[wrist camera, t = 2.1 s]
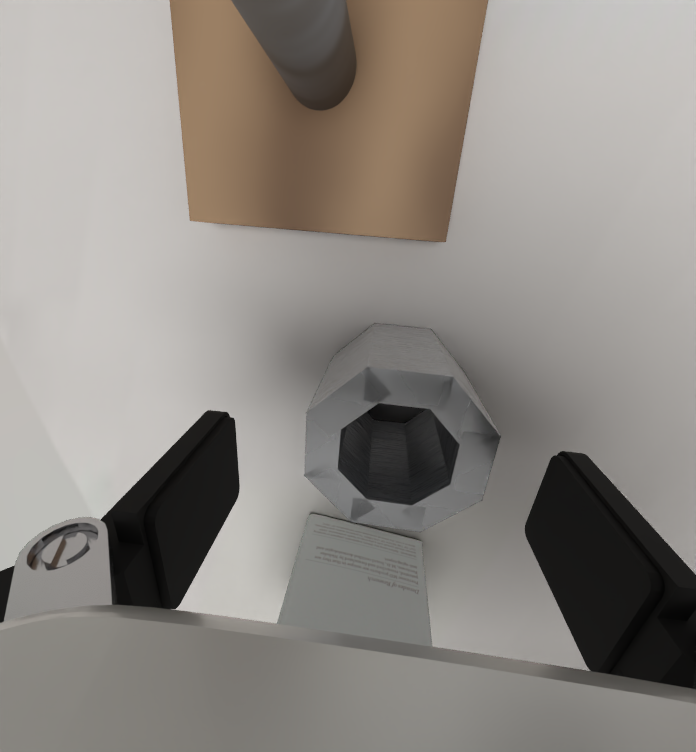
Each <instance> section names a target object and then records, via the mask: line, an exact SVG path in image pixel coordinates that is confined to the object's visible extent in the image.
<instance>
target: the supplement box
mask: <svg viewBox="0 0 696 752" xmlns="http://www.w3.org/2000/svg"><path fill="white" fill-rule="evenodd" d="M277 624H282V625H289V626H296V627H303V628H310V629H317V630H323V631H330V632H337V633H344V634H351V635H357V636H364V637H371V638H377V639H384V640H391V641H397V642H404V643H411V644H417V645H424V646H431V647H432V639H431V629H430V619H429V609H428V599H427V589H426V578H425V569H424V560H423V550H422V542H421V541H419V540H415V539H412V538H408V537H404V536H401V535H397V534H393V533H389V532H385V531H381V530H378V529H373V528H369V527H366V526H362V525H358V524H354V523H350V522H346V521H342V520H338V519H334V518H330V517H326V516H322V515H317V514H310V515H309V517H308V520H307V523H306V526H305V530H304V533H303V536H302V540H301V543H300V546H299V550H298V553H297V557H296V560H295V564H294V567H293V570H292V574H291V577H290V581H289V584H288V588H287V591H286V594H285V598H284V601H283V605H282V608H281V612H280V615H279V618H278V622H277Z"/></svg>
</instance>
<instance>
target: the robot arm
mask: <svg viewBox="0 0 696 752" xmlns="http://www.w3.org/2000/svg"><path fill="white" fill-rule="evenodd" d="M238 494H239V473H238V458H237V443H236V428H235V420H234V418H230V416H229V413H227V412H220V411H211V410H208V411H207V412H205V413H204V414H203V415H202V416H201V417H200V418H199V420H198V421H197V422H196V423H195V424H194V425H193V426H192V427H191V428H190V429H189V430H188V431H187V432H186V433H185V434H184V435H183V436H182V437H181V438H180V439H179V440H178V441H177V442H176V443H175V444H174V445H173V446H172V447H171V448H170V449H169V450H168V451H167V452H166V453H165V454H164V455H163V456H162V457H161V458H160V459H159V460H158V461H157V462H156V463H155V465H154V466H153V467H152V468H151V469H150V470H149V471H148V472H147V473H146V474H145V475H144V476H143V477H142V478H141V479H140V480H139V481H138V482H137V483H136V484H135V485H134V486H133V487H132V488H131V489H130V490H129V491H128V492H127V493H126V494H125V495H124V496H123V497H122V498H121V499H120V500H119V501H118V502H117V503H116V504H115V505H114V506H113V508H112V509H111V510H110V511H109V512H108V513H107V514H106V515H105V516H104V517H103V518H102V519H101V520H100V519H96V518H92V517H82V518H75V519H70V520H66V521H64V522H61V523H59V524H56V525H54V526H52V527H50V528H48V529H47V530H45V531H43V532H41V533H39V534H38V535H37V536H36V537H34V538H33V539H32V540H31V541H29V542H28V543H27V544H26V546H25V547H24V548H23V549H22V550H21V552H20V553H19V556H18V558H17V560H16V563H15V566H12V567H10V568H7V569H5V570H2V571H0V752H696V575H695V574H694V573H693V571H692V570H691V569H690V568H689V567H688V566H687V565H686V564H685V563H684V562H683V560H682V559H681V558H680V557H679V556H678V555H677V554H676V553H675V552H674V551H673V549H672V548H671V547H670V546H669V545H668V544H667V543H666V542H665V541H664V540H663V539H662V537H661V536H660V535H659V534H658V533H657V532H656V531H655V530H654V529H653V528H652V526H651V525H650V524H649V523H648V522H647V521H646V520H645V519H644V518H643V517H642V515H641V514H640V513H639V512H638V511H637V510H636V509H635V508H634V507H633V506H632V504H631V503H630V502H629V501H628V500H627V499H626V498H625V497H624V496H623V495H622V493H621V492H620V491H619V490H618V489H617V488H616V487H615V486H614V485H613V484H612V482H611V481H610V480H609V479H608V478H607V477H606V476H605V475H604V474H603V473H602V472H601V470H600V469H599V468H598V467H597V466H596V465H595V464H594V463H593V462H592V461H591V459H590V458H589V457H588V456H587V455H585V454H582V453H574V452H565V451H562V452H560V453H558V455H557V456H556V455H555V456H553V457H552V458H551V460H550V462H549V465H548V467H547V470H546V473H545V475H544V478H543V480H542V483H541V485H540V488H539V491H538V493H537V496H536V498H535V501H534V504H533V506H532V509H531V511H530V514H529V516H528V519H527V522H526V525H525V534H526V537H527V540H528V542H529V544H530V546H531V548H532V550H533V553H534V555H535V557H536V559H537V561H538V563H539V565H540V568H541V570H542V572H543V574H544V576H545V578H546V580H547V582H548V585H549V587H550V589H551V591H552V593H553V595H554V597H555V600H556V602H557V604H558V606H559V608H560V610H561V612H562V614H563V617H564V619H565V621H566V623H567V625H568V627H569V629H570V631H571V634H572V636H573V638H574V640H575V642H576V644H577V646H578V649H579V651H580V653H581V655H582V657H583V659H584V661H585V663H586V665H587V667H588V668H589V669H590V670H591V671H586V670H579V669H573V668H567V667H560V666H554V665H547V664H541V663H535V662H528V661H522V660H515V659H509V658H503V657H496V656H490V655H483V654H477V653H470V652H464V651H457V650H450V649H444V648H437V647H431V646H424V645H417V644H411V643H404V642H397V641H391V640H384V639H377V638H371V637H364V636H357V635H351V634H344V633H337V632H330V631H323V630H317V629H310V628H303V627H296V626H289V625H282V624H275V623H268V622H261V621H254V620H247V619H240V618H233V617H227V616H219V615H211V614H203V613H195V612H187V611H179V610H171V609H176V608H177V607H178V606H179V605H180V603H181V601H182V599H183V598H184V596H185V594H186V592H187V590H188V588H189V587H190V585H191V583H192V581H193V579H194V577H195V576H196V574H197V572H198V570H199V568H200V566H201V564H202V563H203V561H204V559H205V557H206V555H207V553H208V552H209V550H210V548H211V546H212V544H213V542H214V541H215V539H216V537H217V535H218V533H219V531H220V530H221V528H222V526H223V524H224V522H225V520H226V518H227V517H228V515H229V513H230V511H231V509H232V507H233V506H234V504H235V502H236V500H237V498H238Z"/></svg>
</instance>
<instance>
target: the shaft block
mask: <svg viewBox="0 0 696 752" xmlns="http://www.w3.org/2000/svg"><path fill="white" fill-rule="evenodd" d="M487 3H488V0H170V9H171V20H172V30H173V41H174V52H175V63H176V74H177V85H178V96H179V107H180V118H181V129H182V140H183V150H184V161H185V172H186V183H187V194H188V205H189V216H190V221H198V222H208V223H219V224H231V225H243V226H255V227H267V228H279V229H291V230H303V231H315V232H327V233H339V234H351V235H363V236H374V237H386V238H398V239H410V240H422V241H434V242H446V237H447V232H448V226H449V220H450V214H451V209H452V203H453V197H454V192H455V186H456V180H457V175H458V169H459V163H460V157H461V152H462V146H463V140H464V135H465V129H466V123H467V117H468V112H469V106H470V100H471V95H472V89H473V83H474V78H475V72H476V66H477V60H478V55H479V49H480V43H481V38H482V32H483V26H484V20H485V15H486V9H487Z"/></svg>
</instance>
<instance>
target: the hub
mask: <svg viewBox="0 0 696 752" xmlns="http://www.w3.org/2000/svg"><path fill="white" fill-rule="evenodd" d="M378 403H383V404H391V405H400V406H408V407H416V408H425V409H426V410H425V411H423V412H422V413H420V414H419V415H417V416H416V417H414V418H412V419H411V420H409V421H408V422H406V423H405V424H404V423H396V422H388V421H380V420H373V419H372V417H371V416H370V415H369V414H368V413H367V411H368V410H370V409H371V408H373V407H374V406H375V405H377V404H378ZM306 413H307V418H306V446H305V474H304V476H305V477H306V478H307V479H308V480H309V481H310V482H311V483H312V484H313V485H314V486H315V487H316V488H317V489H318V490H319V491H320V492H321V493H322V494H323V495H324V496H325V497H326V498H327V499H328V500H329V501H330V502H331V503H332V504H333V505H334V506H335V507H336V508H337V509H338V510H339V511H340V512H341V513H342V514H343V515H344V516H345V517H346V518H348V519H349V520H350V522H355V523H362V524H369V525H376V526H383V527H389V528H396V529H403V530H410V531H416V532H421V531H423V530H425V529H427V528H429V527H431V526H433V525H435V524H437V523H439V522H441V521H443V520H445V519H447V518H449V517H450V516H452V515H454V514H456V513H458V512H460V511H462V510H464V509H466V508H468V507H470V506H472V505H474V504H476V503H478V502H480V501H482V498H483V495H484V492H485V488H486V485H487V481H488V478H489V475H490V471H491V468H492V464H493V461H494V457H495V454H496V451H497V447H498V444H499V440H500V437H501V435H500V434H499V432H498V430H497V428H496V427H495V425H494V423H493V421H492V420H491V418H490V416H489V414H488V413H487V411H486V409H485V407H484V406H483V404H482V402H481V400H480V399H479V397H478V395H477V393H476V392H475V390H474V388H473V386H472V385H471V383H470V381H469V379H468V378H467V376H466V374H465V372H464V371H463V370H462V368H461V367H460V366H459V365H458V363H457V362H456V361H455V359H454V358H453V357H452V356H451V354H450V353H449V352H448V350H447V349H446V348H445V347H444V345H443V344H442V343H441V341H440V340H439V339H438V338H437V336H436V335H435V334H434V332H433V331H432V329H426V328H416V327H406V326H396V325H387V324H377V323H374V324H373V325H372V326H371V327H369V328H368V329H367V330H366V331H364V332H363V333H362V334H361V335H359V336H358V337H357V338H356V339H354V340H353V341H352V342H351V343H349V344H348V345H347V346H346V347H344V348H343V349H342V350H341V351H339V352H338V353H337V354H336V355H334V356H333V358H332V360H331V362H330V364H329V366H328V368H327V370H326V372H325V374H324V377H323V379H322V381H321V383H320V385H319V387H318V389H317V391H316V393H315V395H314V397H313V400H312V402H311V404H310V406H309V408H308V410H307V412H306Z"/></svg>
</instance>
